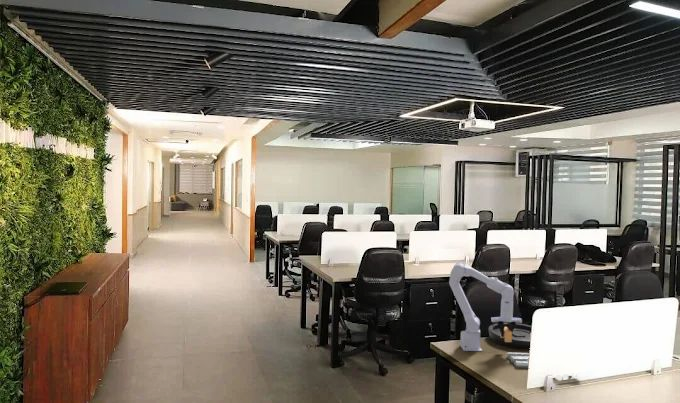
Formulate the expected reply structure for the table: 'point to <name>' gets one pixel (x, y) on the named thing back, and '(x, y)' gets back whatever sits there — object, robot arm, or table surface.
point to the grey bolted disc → (518, 336)
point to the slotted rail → (518, 359)
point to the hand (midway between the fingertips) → (505, 336)
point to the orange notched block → (507, 335)
